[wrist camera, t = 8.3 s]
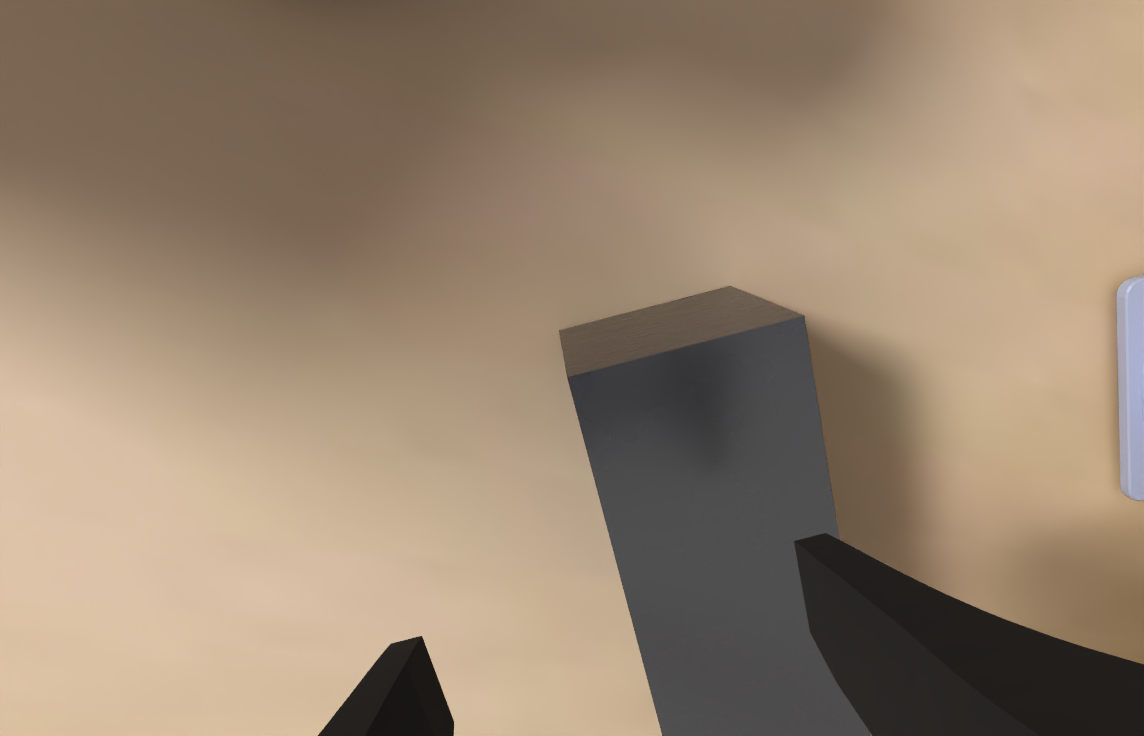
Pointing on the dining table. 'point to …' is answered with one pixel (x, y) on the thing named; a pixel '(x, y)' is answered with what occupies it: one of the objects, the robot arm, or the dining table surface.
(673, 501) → the dark grey rectangular bar
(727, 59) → the dining table surface
